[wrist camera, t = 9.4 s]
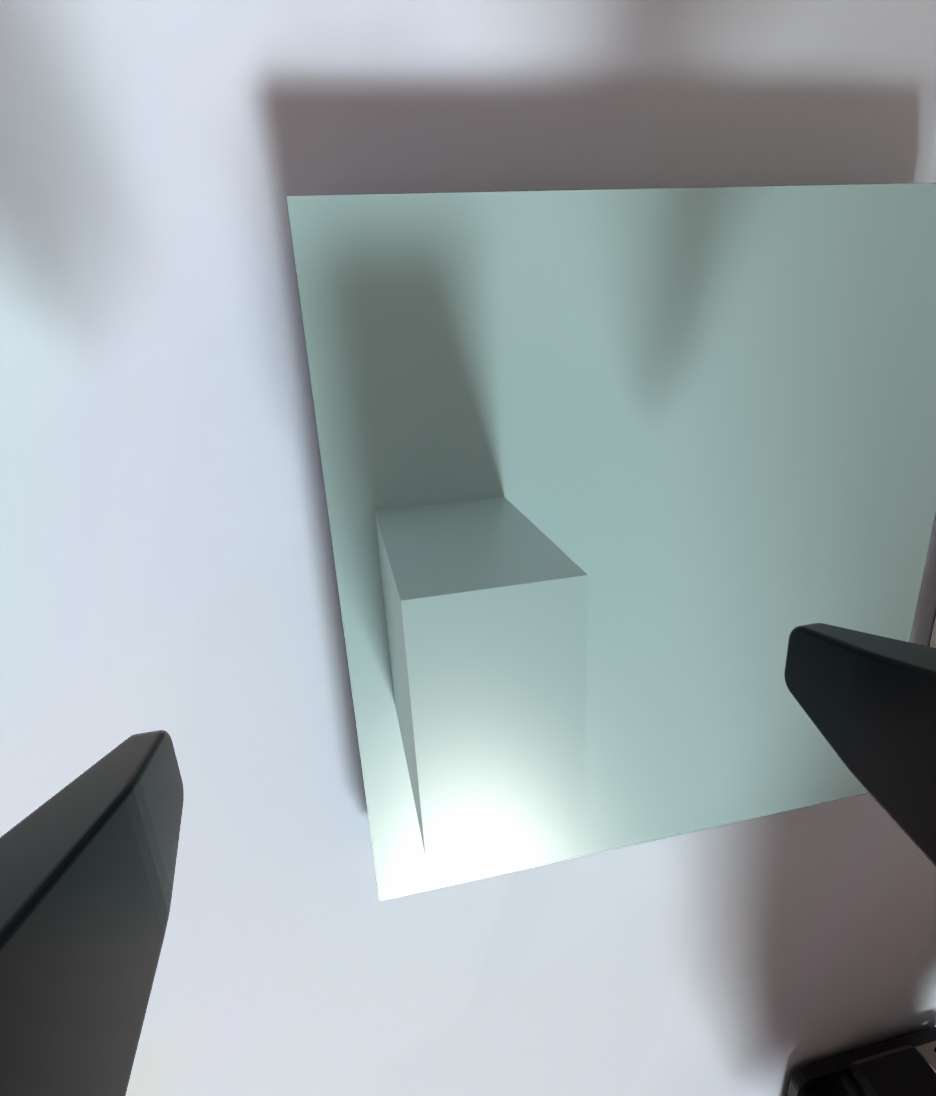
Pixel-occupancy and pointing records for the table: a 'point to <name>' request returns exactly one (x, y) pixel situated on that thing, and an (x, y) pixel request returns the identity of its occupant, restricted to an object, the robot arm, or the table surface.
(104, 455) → the table surface
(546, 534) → the lid
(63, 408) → the table surface
